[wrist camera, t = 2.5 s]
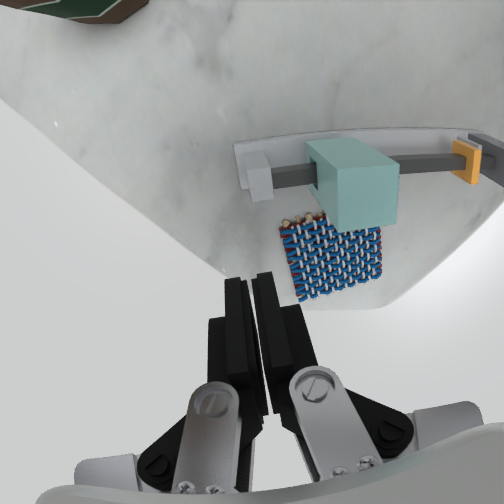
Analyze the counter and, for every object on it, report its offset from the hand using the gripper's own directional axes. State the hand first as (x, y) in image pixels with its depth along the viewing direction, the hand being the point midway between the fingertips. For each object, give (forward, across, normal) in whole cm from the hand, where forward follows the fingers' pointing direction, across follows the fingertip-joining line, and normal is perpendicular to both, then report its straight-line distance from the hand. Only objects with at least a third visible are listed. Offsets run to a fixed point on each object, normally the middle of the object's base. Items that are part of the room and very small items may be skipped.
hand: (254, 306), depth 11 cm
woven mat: (+18, -9, +10) cm, 23 cm away
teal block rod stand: (+17, -14, 0) cm, 22 cm away
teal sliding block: (+14, -8, 0) cm, 16 cm away
